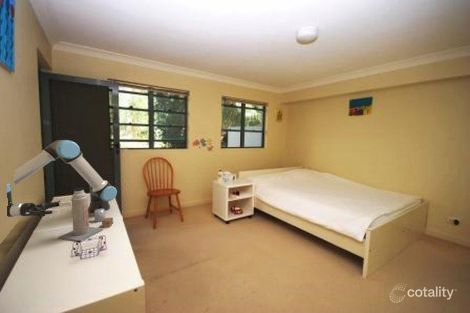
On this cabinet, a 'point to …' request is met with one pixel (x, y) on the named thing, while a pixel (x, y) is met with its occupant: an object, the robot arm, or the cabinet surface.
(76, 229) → the thermos bottle
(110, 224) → the walnut block
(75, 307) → the cabinet surface
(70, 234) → the gray mat
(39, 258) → the cabinet surface
